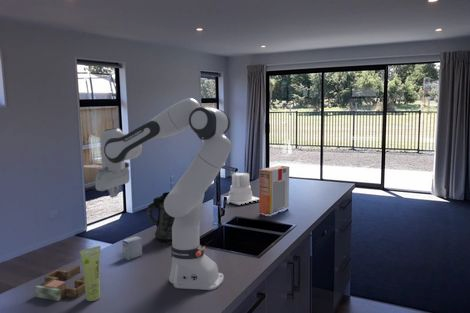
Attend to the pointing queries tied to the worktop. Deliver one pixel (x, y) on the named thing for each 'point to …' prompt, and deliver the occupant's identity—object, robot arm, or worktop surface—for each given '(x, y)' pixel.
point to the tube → (91, 272)
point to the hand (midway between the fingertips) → (113, 196)
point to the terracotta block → (56, 284)
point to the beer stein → (161, 220)
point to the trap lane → (66, 291)
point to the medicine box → (132, 247)
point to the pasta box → (274, 189)
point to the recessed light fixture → (240, 190)
